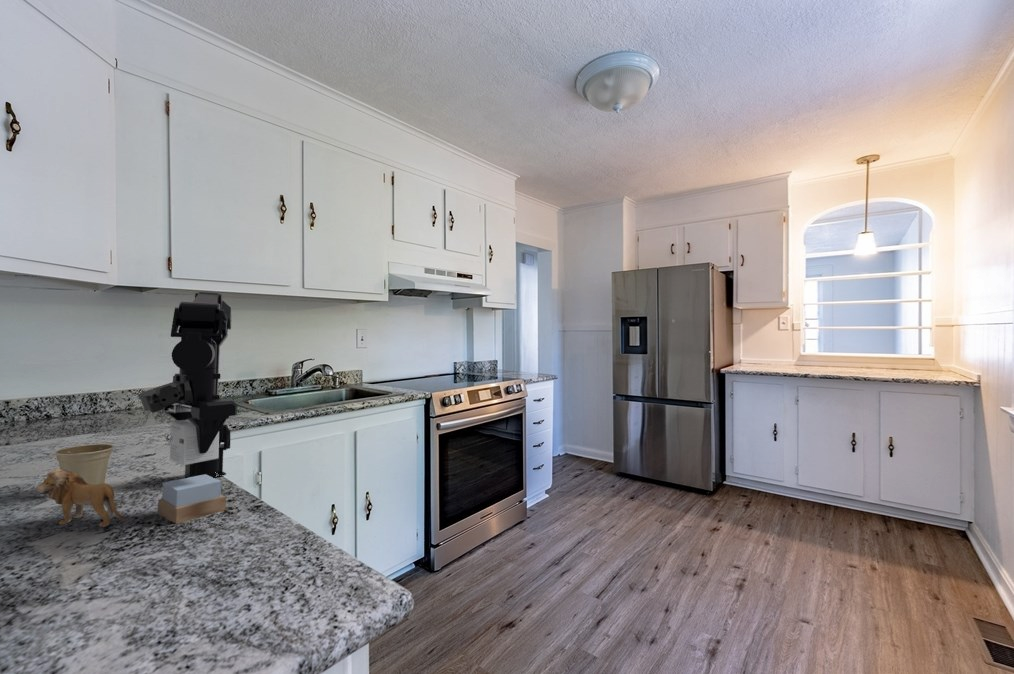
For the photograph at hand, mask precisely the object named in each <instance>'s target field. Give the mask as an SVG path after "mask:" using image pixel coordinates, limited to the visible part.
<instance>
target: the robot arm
mask: <svg viewBox="0 0 1014 674" xmlns="http://www.w3.org/2000/svg"><path fill="white" fill-rule="evenodd" d="M178 304H179V305H178V307H175V308H174V311H173V315H172V316H173V317H172V323H171V329H170V337H171V338H180V341H179V342H177V343H176V344H175V346H174V347H173V349H172V351H171V360H172V362H173V364H174V365H175V366H176V367H177V368H179V373H174V374H173V376H172V382H169V383H165V384H162V385H159V386H157V387H154V388H151V389H148V390H145V391H143V392H140V393H138V398H139V400H140V403H141V404H142V406H143V408H144V411H146V412H147V411H149V412H150V413H156V412H160V411H165V412H164V414H165V415H166V416H168V417H170V418H171V419H173V420H174V421H180V420H189V421H190V422H191V423H193V424H194V425H195V426H196V432H197V440H198V448H199V453H200V454H203V453H207V451H208V449H209V448H210V446H211V444H212V442H213V441H214V439H215V437H216V435H217V434H218V432H219V458H218V459H213V460H208V461H202V462H197V463H193V464H187V465H184V466H185V469H184V475H183V477H184V476H185V477H184V478H186V477H187V478H189V477H194V476H199V475H204V474H206V475H208V476H211V477H214V478H217V477H216V473H218V474H219V475H221V476H220V477H222V476H223V477H224V476H226V475H227V472H225V471H224V466H223V465H224V451H227V450H228V449H231V429H229V426H228V424H225V422H226V421H227V420H228V419H230V417H234V416H237V415H238V404H237V403H236V402H235V401H234V400H232V399H227V398H226V399H225V398H220V397H221V395H220V394H219V379H221V373H219V371H220V353H221V352H220V351H221V350H220V349H221V346H222V345H223V343H224V342H225V341H226V339H227V338H228V334H229V333H228V332H229V330H232V308H231V306H230V305H229V304H227V303H226V302H225V301H224V300H223V295H222V294H221V293H219V292H208V291H199V292H195V293H194V299H193V301H181V302H179V303H178ZM168 410H169V411H168ZM215 472H216V473H215Z"/></svg>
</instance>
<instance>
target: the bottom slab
mask: <svg viewBox="0 0 1014 674" xmlns="http://www.w3.org/2000/svg"><path fill="white" fill-rule="evenodd" d="M226 504H227V496H225V495H223V494H221V495H220V497H218V498H214V499H210V500H206V501H202V502H198V503H194V504H190V505H185V506H181V507H177V508H176V507H175V506H173V505H171V504H170V503H168V502H166V501H165V500H163V499H162V498H160V499H157V514H158V515H160V516H161V517H163V518H165V519H167V520H169V521H170V522H172V523H174V524H176V525H177V524H181V523H184V522H187V521H191V520H195V519H198V518H203V517H205V516H209V515H214V514H216V513H219V512H224V511H226V510H227V509H226V508H227V507H226Z"/></svg>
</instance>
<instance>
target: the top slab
mask: <svg viewBox="0 0 1014 674" xmlns="http://www.w3.org/2000/svg"><path fill="white" fill-rule="evenodd" d="M221 489H222V480H219V479H217V478H216V477H214V478H213V477H211V476H208V475H206V474H204V475H199V476H194V477H189V478H186V477H184V478H180V479H174V480H169V481H165V482H162V491H161V492H162V493H161V494H162V495H161V499H163V500H165V501H166V502H168V503H170V504H171V505H173V506H175V507H176V508H177V507H181V506H185V505H190V504H194V503H198V502H202V501H206V500H210V499H214V498H218V497H220V495H222V494H221V492H222V491H221Z"/></svg>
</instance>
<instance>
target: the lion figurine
mask: <svg viewBox="0 0 1014 674" xmlns="http://www.w3.org/2000/svg"><path fill="white" fill-rule="evenodd" d="M46 476H47V477H46V478H45V479H44V480H43V482H42V483H40V484H39V485H37V486H35V490H36V491H37V492H39V495H40V496H41V497H44V496H46V495H47V497H48V498H49V499H51V500H53V501H54V502H55V504H56V505H60V506H61V509H62V513H63V516H64V519H61V520H60V521H59V522H58V523H59V525H65V524H68V523H71V521H72V519H79V518H81V517H83V513H84V506H86V507H88V506H92V509H93V510H94V512H95V513H96V514H97V515H98V516H99V517H101V519H102V520H103V521H102V522H100V523H99V527H100V528H105V527H107V526H108V525H110V523H111V522H110V520H111V519H113V517H114V516H113V515H115V516H116V518H117V519H119V520H120V521H128V520H129V516H127V515H123V514H120V513H119V512H118V509H117V506H116V504H115V500H114V499H115V498H114V497H115V490H114V488H113V487H112V485H110V484H109V483H105V482H104V484H97V485H92V484H87V483H86V482H85V481H84V479H83V478H82V477H81V476H80V475H76V473H73V472H70V471H67V470H60V469H54V470H51V471H50V472H49V471H48V472H47V473H46ZM104 504H105V506H104ZM73 505H75V512H74V514H73V515H72V507H73ZM105 507H106V508H107V509H105ZM106 510H107V511H106Z"/></svg>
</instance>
